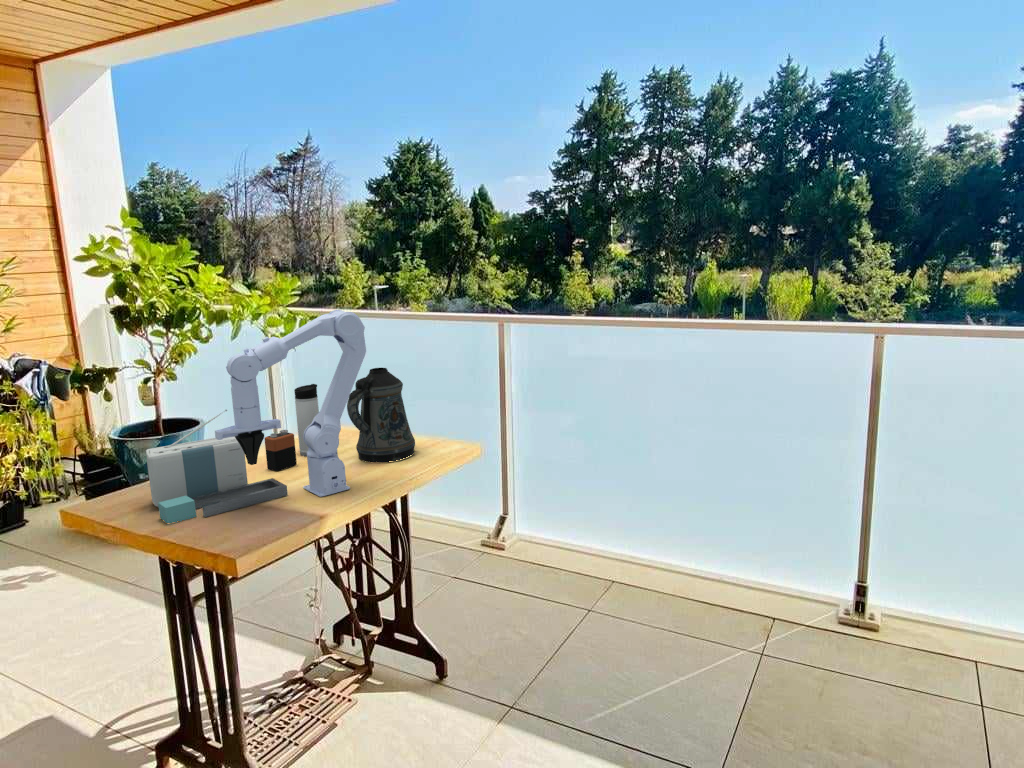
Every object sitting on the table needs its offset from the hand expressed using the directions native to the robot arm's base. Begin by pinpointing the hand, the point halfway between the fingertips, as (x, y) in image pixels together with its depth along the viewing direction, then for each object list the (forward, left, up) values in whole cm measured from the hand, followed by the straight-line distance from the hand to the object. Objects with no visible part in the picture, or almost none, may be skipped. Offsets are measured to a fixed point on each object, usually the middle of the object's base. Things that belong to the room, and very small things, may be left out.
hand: (252, 463), depth 162 cm
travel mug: (+29, -28, -10) cm, 41 cm away
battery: (+22, -16, -10) cm, 29 cm away
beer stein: (+10, -41, -10) cm, 43 cm away
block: (+3, +16, -10) cm, 19 cm away
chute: (+3, +3, -9) cm, 10 cm away
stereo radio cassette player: (+14, +8, -10) cm, 19 cm away
